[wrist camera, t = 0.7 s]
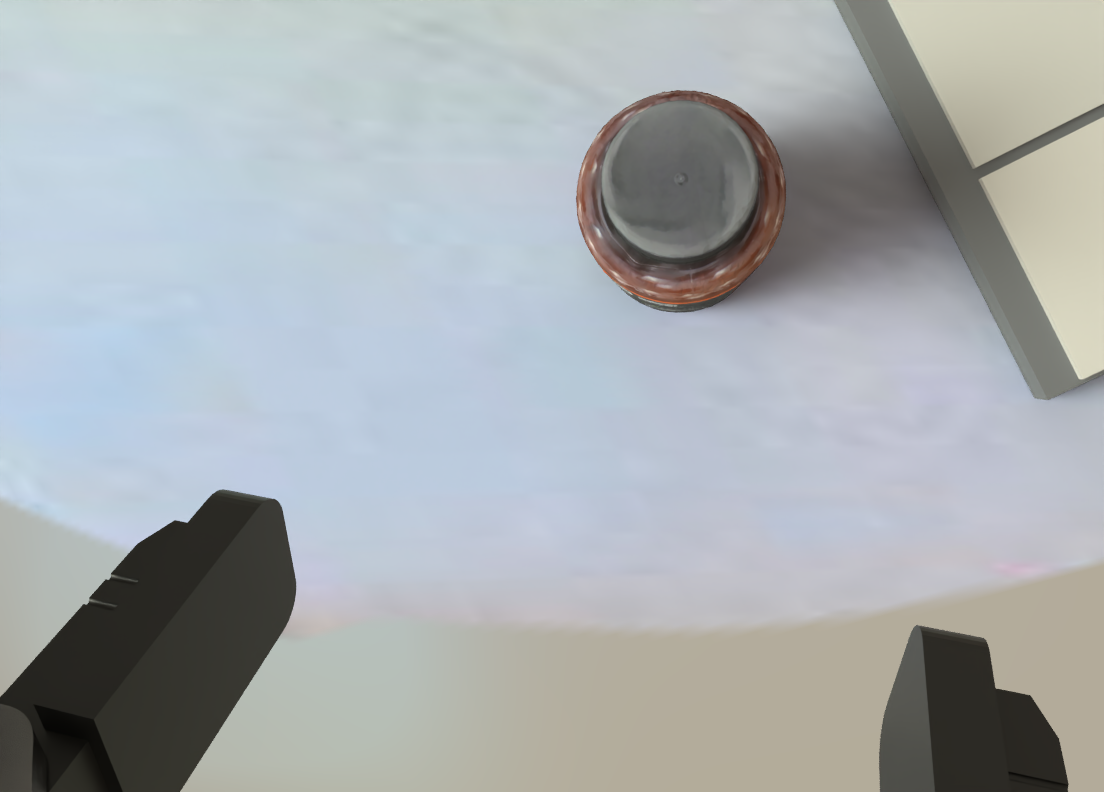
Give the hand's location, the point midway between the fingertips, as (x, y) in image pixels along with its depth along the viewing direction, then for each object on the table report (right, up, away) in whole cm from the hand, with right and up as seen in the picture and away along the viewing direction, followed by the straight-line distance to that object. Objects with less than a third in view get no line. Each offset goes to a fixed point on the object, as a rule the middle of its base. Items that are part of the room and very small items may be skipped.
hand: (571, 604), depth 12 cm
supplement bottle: (+4, +9, +23) cm, 25 cm away
